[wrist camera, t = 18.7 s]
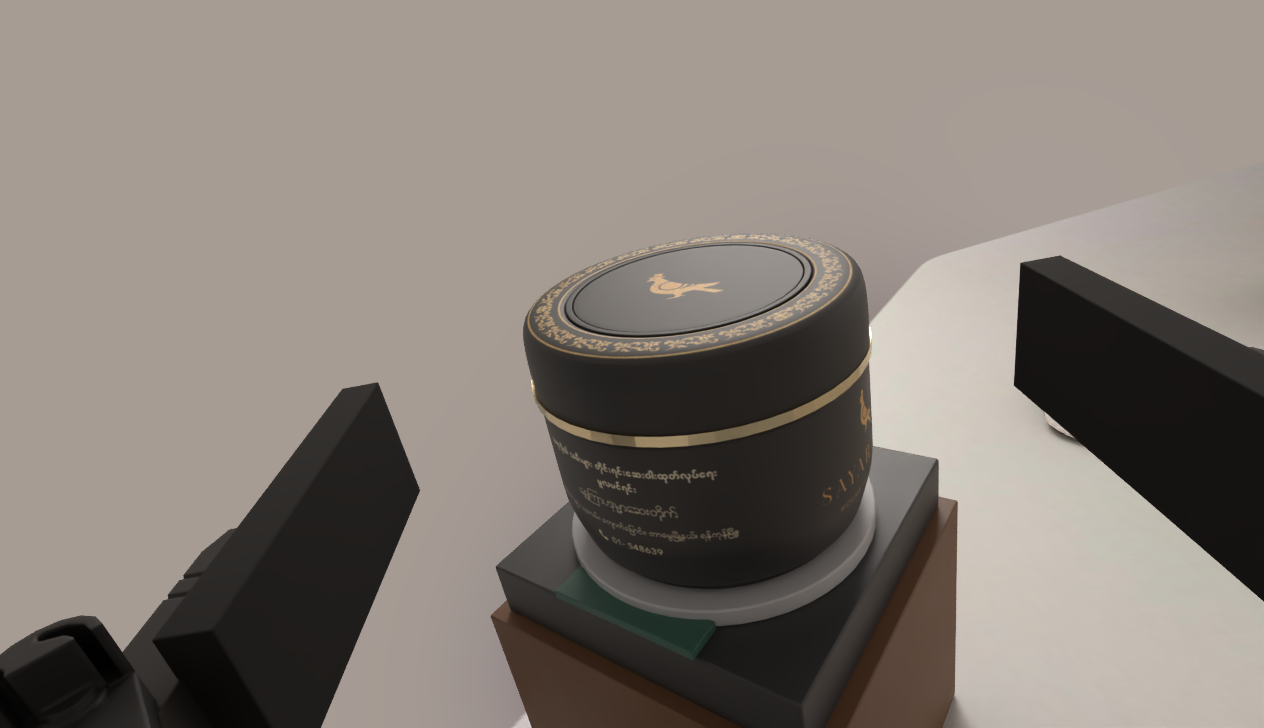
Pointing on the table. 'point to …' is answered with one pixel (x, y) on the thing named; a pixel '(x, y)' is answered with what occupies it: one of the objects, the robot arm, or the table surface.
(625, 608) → the scale
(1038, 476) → the table surface
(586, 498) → the jar
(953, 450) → the table surface
